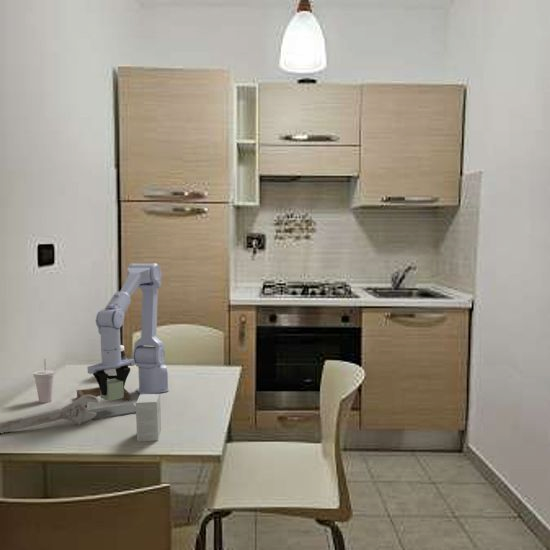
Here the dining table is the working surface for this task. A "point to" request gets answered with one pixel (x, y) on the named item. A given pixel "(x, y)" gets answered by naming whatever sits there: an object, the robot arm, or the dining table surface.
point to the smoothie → (44, 384)
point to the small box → (148, 417)
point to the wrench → (54, 415)
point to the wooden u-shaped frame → (97, 393)
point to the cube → (114, 390)
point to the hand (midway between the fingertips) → (112, 392)
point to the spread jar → (112, 372)
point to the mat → (113, 411)
